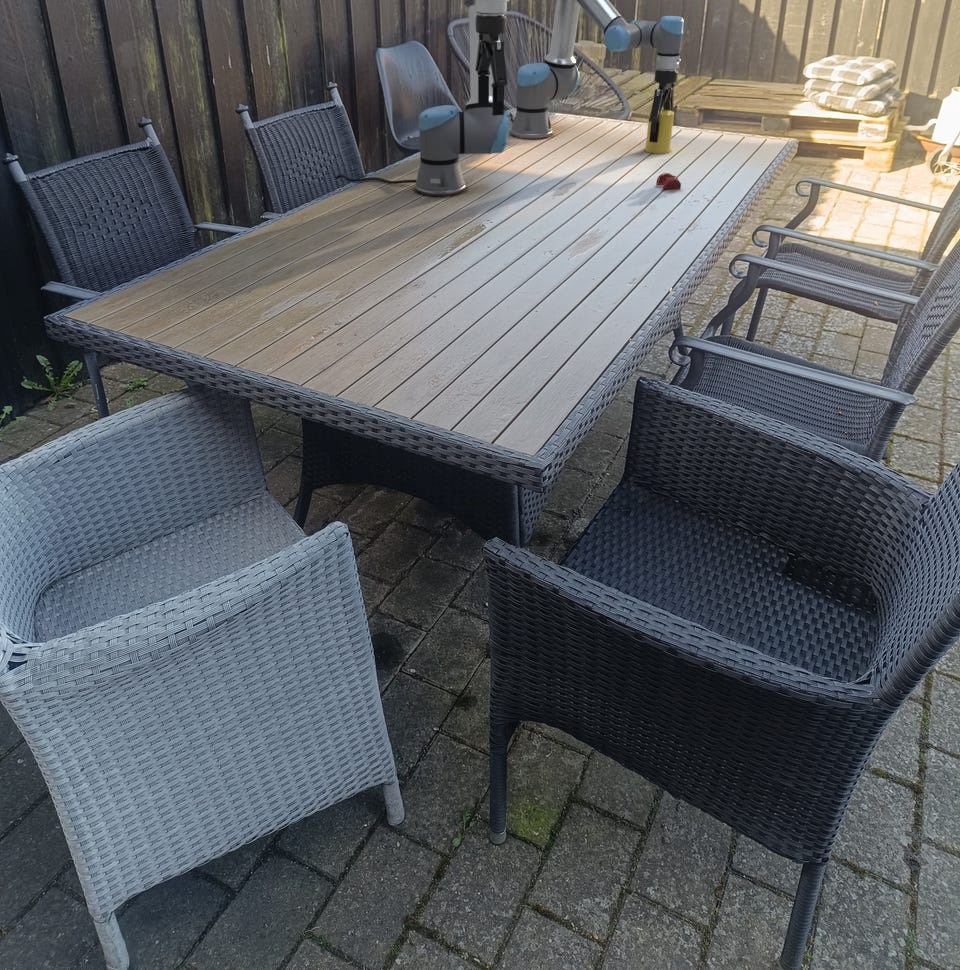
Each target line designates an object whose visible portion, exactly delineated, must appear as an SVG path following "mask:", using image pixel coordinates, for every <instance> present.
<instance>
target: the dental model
mask: <svg viewBox="0 0 960 970" xmlns="http://www.w3.org/2000/svg"><path fill="white" fill-rule="evenodd" d="M681 183H682V182H681V181H680V180H679V176H676V175H673V174H672V173H670V172H664V173H661V174H660V175H659V176H658V177H657V178H656V185H655V186H662V191H663V192H666V191H678V190H681V188H682V184H681Z"/></svg>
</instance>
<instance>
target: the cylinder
mask: <svg viewBox="0 0 960 970" xmlns="http://www.w3.org/2000/svg"><path fill="white" fill-rule="evenodd" d="M650 114H651V110H650V111H649V112H648V122H647V132H646V141H645V152H647V153H650V154H656V155H657V154H668V153H670V151H671V142H672V134H673V128H674V127H673V126H674V118H675V112H674V110H673V111H670V110H663V109H662V112H661V115H660V119H659V122H660V125H659V133H658V142H657V143H655V142H649V139H650V130H651V122H649V119H650ZM654 118H655V117H654Z"/></svg>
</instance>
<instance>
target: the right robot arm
mask: <svg viewBox="0 0 960 970" xmlns="http://www.w3.org/2000/svg"><path fill="white" fill-rule="evenodd" d="M581 8H582V10H583V11H584V12H585V13H586V14H587V16H588V17H589V18H590V19H591V20H592V22H593V23H594V25H596V26H597V28H598V29H599V30H600V31H601V33H602V34H603V36H604V37H603V40H604V41H603V42H604V44H605V47H606V49H607V50H608V51H610V52H613V53H615V52H616V53H617V52H618V53H619V52H620V53H621V52H625V51H627V50H633V49H639V48H643V47H645V48H654V49H657V51H656V59H655V70H654V82H655V83H657V84H658V87H657V88H655V89H654V95H653V101H652V106H651V109H650V111H651V114H650V119H649V118H648V121H649V122H651V130H650V139H649V142H655V143H657V142H658V133H659V125H660V122H659V119H660V115H661V112H662V110H670V111H673V112H674V101H675V100H674V99H675V98H674V97H675V96H674V93H675V84H676V83H677V81H678V76H679V71H678V69H679V67H680V65H679V64H680V63H681V62H682V59H681V58H680V57H681V49H682V43H683V35H684V23H685V20H684V18H683V17H682V16H680V15H679V16H678V15H665V16H662V17H661V18H660V21H652V20H645V19H634V20H631V21H630V23H628V22H627V21H626V19H625V18H624V17H623V16H622V15H621V14H620V12H619V11H618V10H617V9H616V7H615V6H614V5H613V4H612V2H611V1H610V0H556V3H555V10H554V16H553V25H552V33H551V38H550V39H551V40H550V46H549V53H548V54H547V55H545V56H544V62H534V63H527V64H524V65H522V66H520V67H519V68H518V70H517V74H516V75H517V76H516V112H515V116H514V115H513V113H511V112H510V116H509V117H510V121H511V122H512V125H511V127H510V133H511V134H510V135H511V136H513V137H515V138H518V139H525V140H539V139H546V138H550V137H551V136H552V135H553V128H552V124H551V118H550V115H549V102H551V101H554V100H559V99H565V98H567V97H570V96H571V95H573V94H574V93H575V92H576V90H577V89H578V87H579V84H580V79H581V78H580V71H578V70H579V68H578V66H577V64H576V63H577V60H576V58H575V57H574V50H575V44H576V37H577V29H578V23H579V17H580V10H581ZM506 110H507V109H506V108H505V111H506ZM654 117H655V118H654Z"/></svg>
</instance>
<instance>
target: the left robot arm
mask: <svg viewBox="0 0 960 970" xmlns="http://www.w3.org/2000/svg"><path fill="white" fill-rule="evenodd" d="M462 1H463V3H462V4H464V5H465V6H466V7H467V8H468V35H469V37H468V38H469V91H470V92H469V94H470V95H469V96H470V97H469V100H468V101H467V102H466V103H465V109H464V110H465V111H460V110H459V107H458V106H457V105H453V104H451V105H449V104H447V105H446V104H445V105H437V106H433V107H429V108H427V109H425V110H423V111H422V112H421V113H420V114H419V117H418V118H419V119H418V120H419V121H418V132H419V157H420V158H419V159H420V161H419V162H420V164H419V168H418V172H417V176H416V179H402V180H389V179H386V178H382V177H376V176H375V177H374V176H372V177H361V178H350V177H349V176H346V175H345V174H342V173H339V174H338V175H336V176H335V178H334V179H335V180H339V179H340V178H343V179H344V180H346V181H349V182H353V183H355V182H366V181H378V182H379V181H380V182H383V183H386V184H390V185H397V184H413V183H415V185H414V186H415V192H417V193H418V194H420V195H424V196H430V197H450V196H455V195H459V194H461V193H463V192H464V191H466V181H465V179H464V176H463V172H462V169H461V165H460V155H468V154H469V155H480V154H481V155H483V154H484V155H491V154H501V153H503V152H504V151H505V150H506V147H507V143H508V137H509V129H510V119H511V116H510V113H511V112H510V111H509V110H507V109H506V108H505V107H506V106H505V105H506V104H505V87H506V86H508V76H507V66H506V58H505V57H506V56H505V41H504V39H501V40H500V34H506V32H507V30H508V29H507V28H508V27H507V26H508V16H507V15H506V13H507V12H508V11H507V10H508V4H507V3H508V2H509V1H510V0H462ZM505 109H506V111H505Z"/></svg>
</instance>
